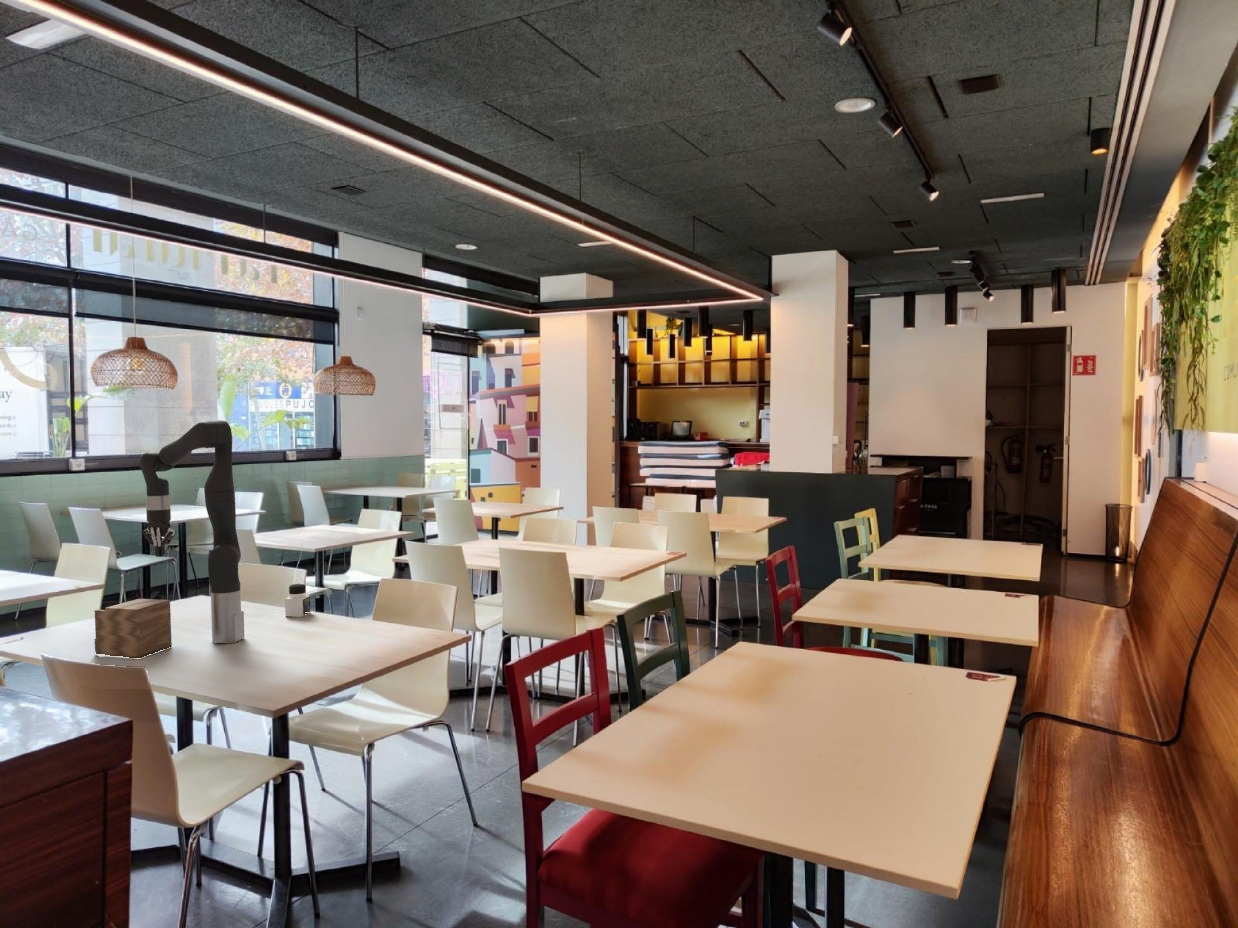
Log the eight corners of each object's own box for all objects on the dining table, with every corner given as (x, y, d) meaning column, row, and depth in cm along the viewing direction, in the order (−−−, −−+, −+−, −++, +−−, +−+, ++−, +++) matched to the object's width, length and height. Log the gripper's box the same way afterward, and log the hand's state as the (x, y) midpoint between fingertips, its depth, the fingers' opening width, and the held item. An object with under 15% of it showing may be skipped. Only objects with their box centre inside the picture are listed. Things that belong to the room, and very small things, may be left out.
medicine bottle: (303, 617, 322) (302, 586, 322) (285, 617, 322) (284, 586, 322) (310, 612, 329) (310, 582, 329) (292, 612, 329) (291, 582, 329)
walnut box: (171, 647, 280) (170, 600, 279) (138, 659, 266) (136, 609, 265) (130, 645, 283) (129, 598, 282) (96, 656, 270) (94, 607, 269)
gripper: (134, 508, 297) (136, 557, 298) (166, 509, 294) (168, 558, 295) (150, 506, 305) (152, 554, 305) (182, 507, 302) (183, 555, 303)
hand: (160, 556), depth 300 cm, fingers closed
